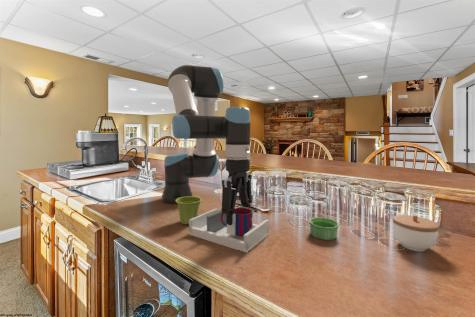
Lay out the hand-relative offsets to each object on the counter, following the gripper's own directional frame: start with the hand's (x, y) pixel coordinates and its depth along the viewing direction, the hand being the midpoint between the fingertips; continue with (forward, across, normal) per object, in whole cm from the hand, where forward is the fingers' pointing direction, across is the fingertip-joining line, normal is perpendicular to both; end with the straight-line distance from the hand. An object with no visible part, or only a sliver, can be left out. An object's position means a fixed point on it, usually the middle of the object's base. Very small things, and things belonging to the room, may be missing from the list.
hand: (237, 229), depth 74 cm
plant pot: (+3, +1, +22) cm, 23 cm away
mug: (0, 0, 0) cm, 1 cm away
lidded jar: (+3, +23, -47) cm, 52 cm away
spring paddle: (+1, 0, +7) cm, 7 cm away
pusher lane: (+2, 0, +3) cm, 4 cm away
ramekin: (+3, +17, -23) cm, 28 cm away
